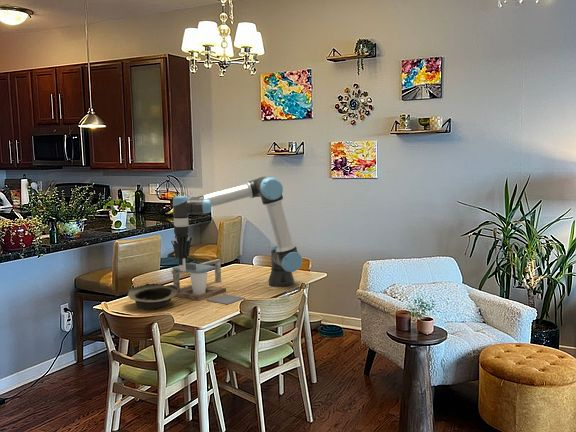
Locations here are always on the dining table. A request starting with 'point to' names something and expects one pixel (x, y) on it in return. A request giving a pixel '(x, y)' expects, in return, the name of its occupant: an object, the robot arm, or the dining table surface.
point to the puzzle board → (210, 290)
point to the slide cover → (195, 268)
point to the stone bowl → (152, 295)
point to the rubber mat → (225, 299)
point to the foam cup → (198, 282)
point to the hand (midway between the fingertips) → (182, 270)
